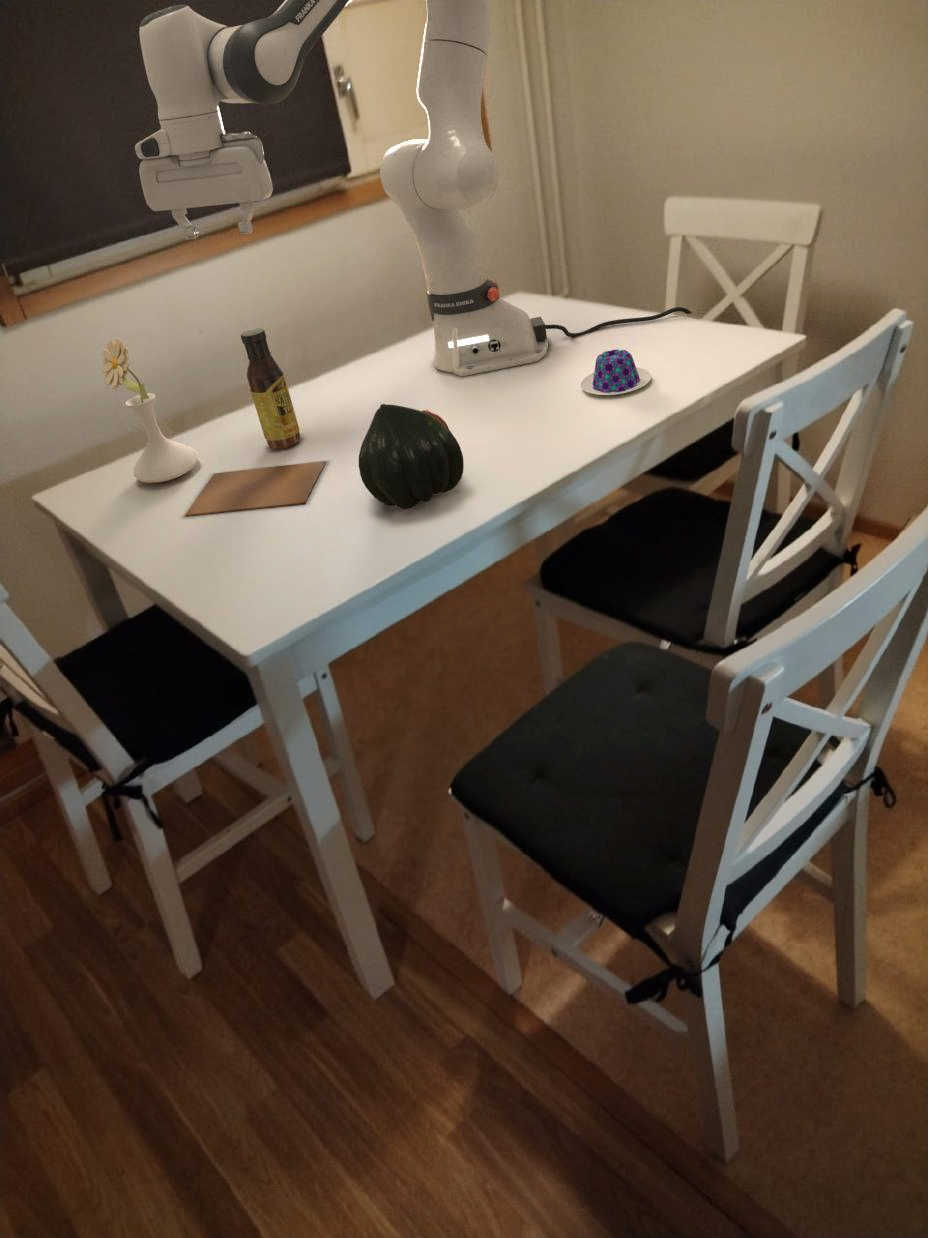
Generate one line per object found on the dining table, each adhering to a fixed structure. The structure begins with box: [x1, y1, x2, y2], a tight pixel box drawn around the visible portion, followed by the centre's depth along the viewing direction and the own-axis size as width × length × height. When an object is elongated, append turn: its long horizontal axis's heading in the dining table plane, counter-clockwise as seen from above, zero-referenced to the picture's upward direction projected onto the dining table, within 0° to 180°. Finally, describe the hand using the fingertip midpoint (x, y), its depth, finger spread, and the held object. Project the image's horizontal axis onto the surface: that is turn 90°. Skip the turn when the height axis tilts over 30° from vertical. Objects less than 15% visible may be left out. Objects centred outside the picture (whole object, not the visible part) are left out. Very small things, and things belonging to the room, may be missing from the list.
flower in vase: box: [101, 336, 199, 484], centre depth 154 cm, size 13×11×25 cm
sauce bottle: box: [240, 327, 301, 450], centre depth 159 cm, size 7×6×20 cm
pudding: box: [580, 349, 652, 396], centre depth 158 cm, size 12×12×5 cm
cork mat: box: [184, 460, 327, 517], centre depth 151 cm, size 20×14×1 cm
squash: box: [358, 403, 465, 510], centre depth 136 cm, size 14×15×15 cm
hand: (219, 236), depth 145 cm, fingers open, 8 cm apart
